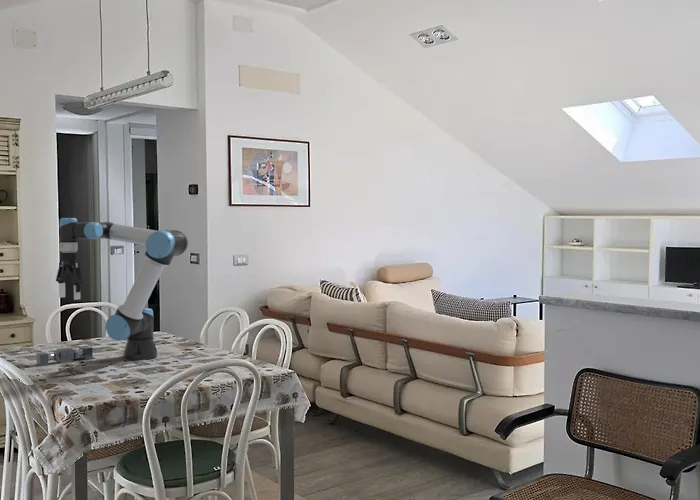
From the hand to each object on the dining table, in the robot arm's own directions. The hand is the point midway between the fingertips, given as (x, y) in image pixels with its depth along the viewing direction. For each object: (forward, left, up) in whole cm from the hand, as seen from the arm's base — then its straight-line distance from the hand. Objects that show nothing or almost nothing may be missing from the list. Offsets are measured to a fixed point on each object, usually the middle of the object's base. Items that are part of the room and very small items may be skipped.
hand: (69, 298), depth 328 cm
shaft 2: (-3, +5, -28) cm, 28 cm away
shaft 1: (+12, +5, -28) cm, 31 cm away
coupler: (+5, +5, -28) cm, 29 cm away
